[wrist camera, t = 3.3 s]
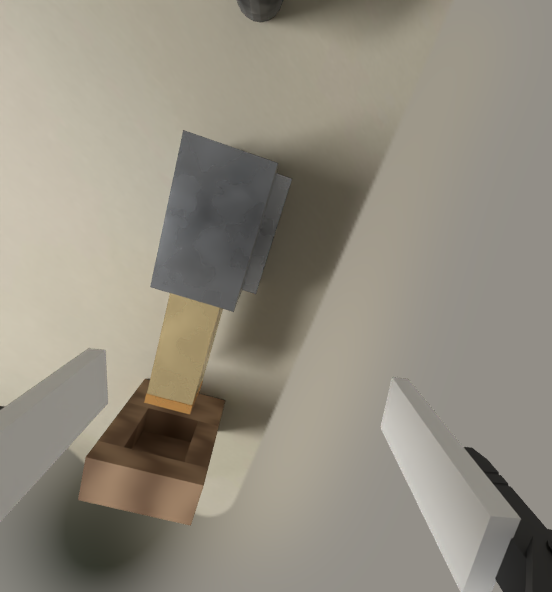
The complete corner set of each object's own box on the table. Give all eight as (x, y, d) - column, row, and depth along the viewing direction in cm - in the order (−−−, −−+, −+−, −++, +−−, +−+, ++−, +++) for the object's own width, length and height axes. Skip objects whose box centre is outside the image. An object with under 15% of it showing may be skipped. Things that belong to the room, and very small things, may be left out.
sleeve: (176, 258, 35) (132, 281, 24) (200, 152, 32) (162, 122, 21) (258, 283, 36) (250, 317, 25) (289, 182, 33) (297, 169, 22)
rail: (161, 377, 33) (144, 402, 29) (210, 173, 27) (198, 167, 23) (200, 387, 34) (189, 414, 29) (257, 189, 28) (254, 186, 23)
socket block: (137, 411, 41) (78, 499, 29) (144, 378, 40) (85, 457, 27) (215, 431, 42) (190, 525, 30) (225, 400, 41) (203, 485, 28)
